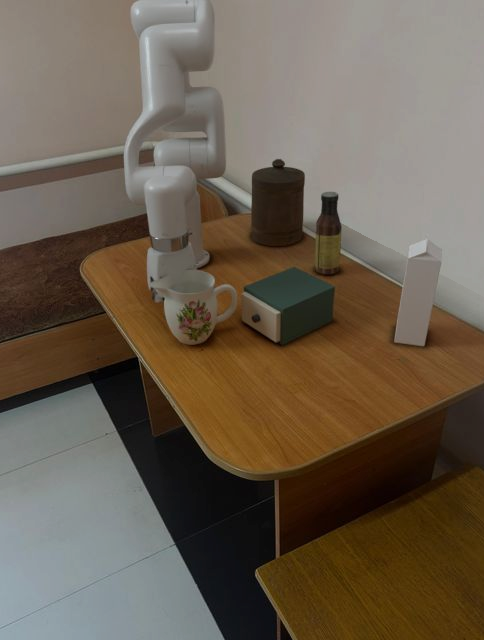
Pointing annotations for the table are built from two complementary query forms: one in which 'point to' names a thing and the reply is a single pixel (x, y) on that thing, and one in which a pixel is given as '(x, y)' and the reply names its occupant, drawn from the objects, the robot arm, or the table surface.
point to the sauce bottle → (328, 236)
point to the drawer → (261, 316)
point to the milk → (418, 292)
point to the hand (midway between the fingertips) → (177, 317)
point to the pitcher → (193, 305)
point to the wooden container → (277, 205)
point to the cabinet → (296, 301)
